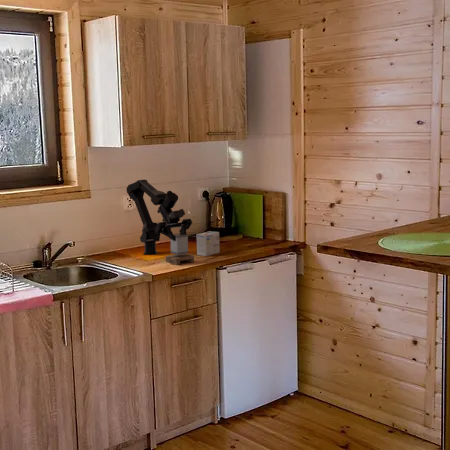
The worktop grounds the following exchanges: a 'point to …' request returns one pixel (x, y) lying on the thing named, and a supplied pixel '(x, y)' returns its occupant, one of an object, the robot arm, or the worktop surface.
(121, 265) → the worktop surface
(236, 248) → the worktop surface
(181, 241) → the block
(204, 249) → the light bulb box
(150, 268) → the worktop surface
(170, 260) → the walnut stand
